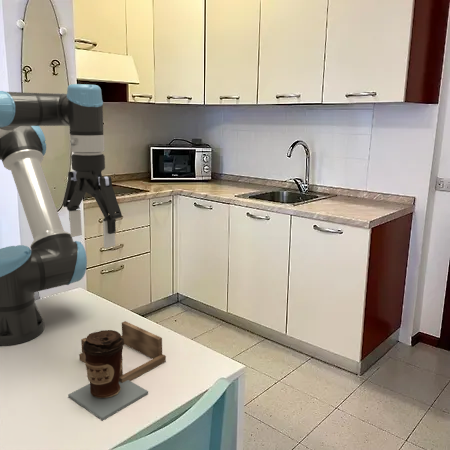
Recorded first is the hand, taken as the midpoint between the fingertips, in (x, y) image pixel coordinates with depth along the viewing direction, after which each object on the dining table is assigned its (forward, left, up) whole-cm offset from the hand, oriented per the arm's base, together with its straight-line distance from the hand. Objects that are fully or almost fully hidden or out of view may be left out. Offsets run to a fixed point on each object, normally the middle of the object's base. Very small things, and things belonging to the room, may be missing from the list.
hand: (92, 241), depth 114 cm
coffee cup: (+18, -11, -28) cm, 35 cm away
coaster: (+19, -11, -29) cm, 36 cm away
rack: (+10, 0, -29) cm, 30 cm away
